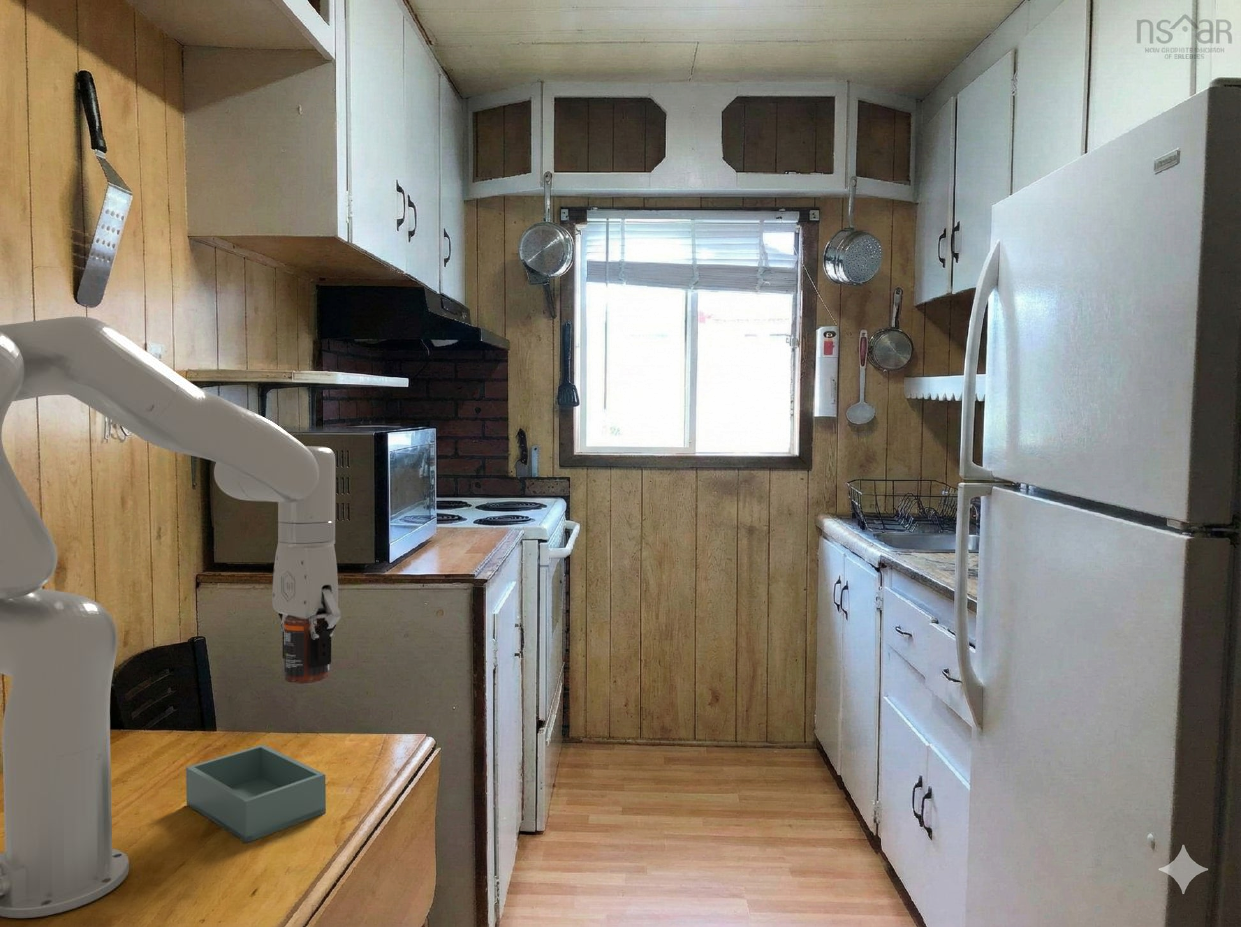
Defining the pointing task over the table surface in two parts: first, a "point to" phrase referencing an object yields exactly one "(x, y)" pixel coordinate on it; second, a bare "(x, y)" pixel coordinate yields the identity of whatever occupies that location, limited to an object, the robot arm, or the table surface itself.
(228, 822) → the box
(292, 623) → the supplement bottle
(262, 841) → the table surface
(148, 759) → the table surface
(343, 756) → the table surface
